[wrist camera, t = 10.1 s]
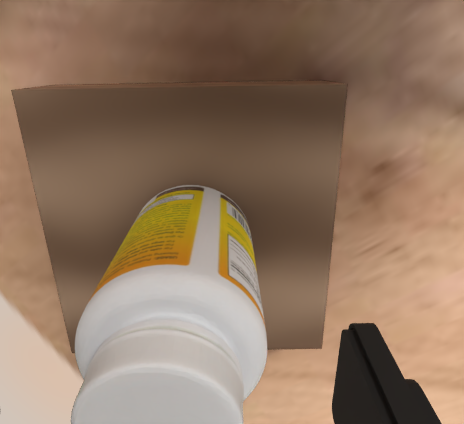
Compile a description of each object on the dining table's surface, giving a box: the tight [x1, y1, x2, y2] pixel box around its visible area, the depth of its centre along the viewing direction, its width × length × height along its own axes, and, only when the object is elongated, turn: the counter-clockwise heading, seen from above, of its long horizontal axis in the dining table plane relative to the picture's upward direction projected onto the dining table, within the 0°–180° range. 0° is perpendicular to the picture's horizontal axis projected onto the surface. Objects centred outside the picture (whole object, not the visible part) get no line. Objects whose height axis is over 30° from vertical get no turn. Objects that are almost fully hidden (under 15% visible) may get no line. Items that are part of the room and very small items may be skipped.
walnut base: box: [11, 80, 348, 353], centre depth 20 cm, size 14×14×4 cm
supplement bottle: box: [71, 185, 267, 424], centre depth 13 cm, size 6×6×10 cm
